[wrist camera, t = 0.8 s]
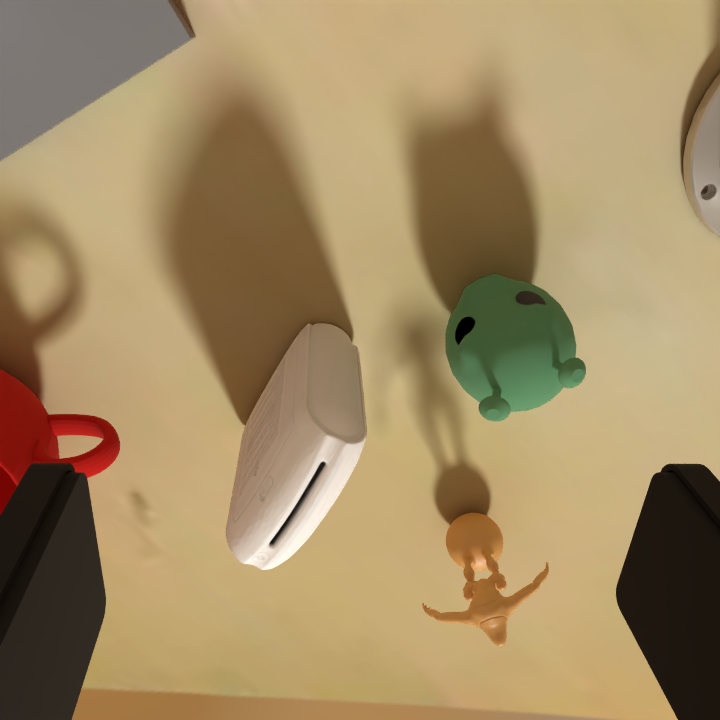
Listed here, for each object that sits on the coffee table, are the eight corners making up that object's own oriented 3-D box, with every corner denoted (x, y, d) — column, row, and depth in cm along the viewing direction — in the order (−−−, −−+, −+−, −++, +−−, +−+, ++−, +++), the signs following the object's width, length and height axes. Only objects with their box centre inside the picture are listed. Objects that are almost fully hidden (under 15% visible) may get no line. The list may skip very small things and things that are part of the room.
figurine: (424, 558, 51) (452, 704, 40) (396, 501, 48) (418, 642, 38) (530, 522, 50) (587, 663, 39) (507, 462, 47) (562, 596, 36)
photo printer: (292, 458, 46) (284, 600, 35) (234, 434, 45) (207, 573, 34) (367, 339, 42) (385, 457, 31) (306, 309, 41) (302, 421, 30)
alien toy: (521, 228, 39) (580, 294, 30) (562, 334, 43) (626, 421, 34) (411, 281, 40) (438, 359, 31) (460, 380, 44) (496, 475, 35)
